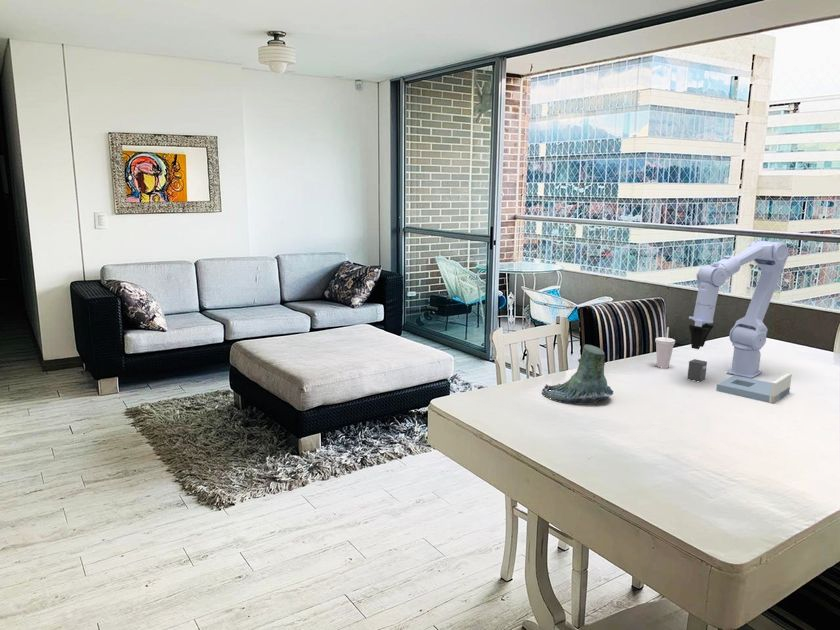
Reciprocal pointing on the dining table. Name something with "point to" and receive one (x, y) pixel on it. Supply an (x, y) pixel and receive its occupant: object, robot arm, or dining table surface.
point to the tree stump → (583, 380)
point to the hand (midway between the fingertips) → (697, 347)
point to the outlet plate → (757, 388)
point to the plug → (697, 370)
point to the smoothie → (664, 350)
